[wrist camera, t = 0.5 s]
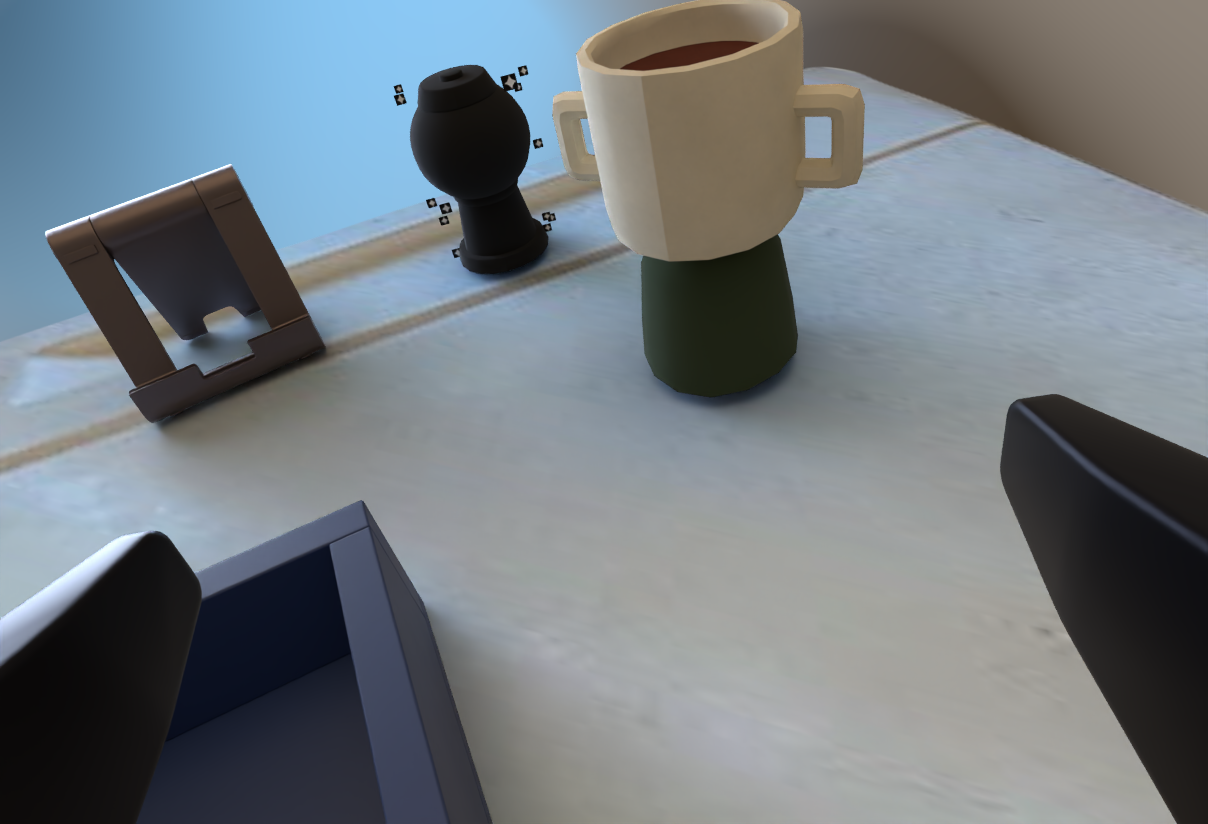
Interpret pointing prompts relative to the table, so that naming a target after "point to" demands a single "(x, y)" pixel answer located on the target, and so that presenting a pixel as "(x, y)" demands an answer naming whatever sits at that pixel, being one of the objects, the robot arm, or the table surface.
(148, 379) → the tablet stand
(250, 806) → the box
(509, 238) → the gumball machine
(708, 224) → the character mug
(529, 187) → the table surface
